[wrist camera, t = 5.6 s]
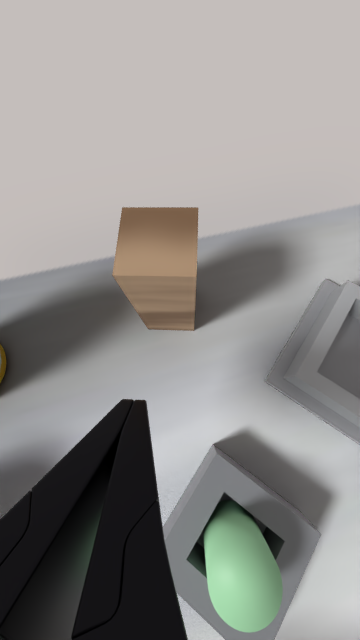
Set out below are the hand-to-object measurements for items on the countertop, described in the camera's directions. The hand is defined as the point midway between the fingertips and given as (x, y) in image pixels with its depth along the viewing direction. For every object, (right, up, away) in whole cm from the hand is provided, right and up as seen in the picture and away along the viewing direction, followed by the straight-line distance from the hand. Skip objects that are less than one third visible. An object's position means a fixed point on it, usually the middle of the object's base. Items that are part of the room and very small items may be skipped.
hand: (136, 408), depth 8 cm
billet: (+1, +4, +15) cm, 16 cm away
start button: (+5, -12, +9) cm, 16 cm away
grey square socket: (+18, -1, +13) cm, 22 cm away
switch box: (+5, -13, +10) cm, 17 cm away
